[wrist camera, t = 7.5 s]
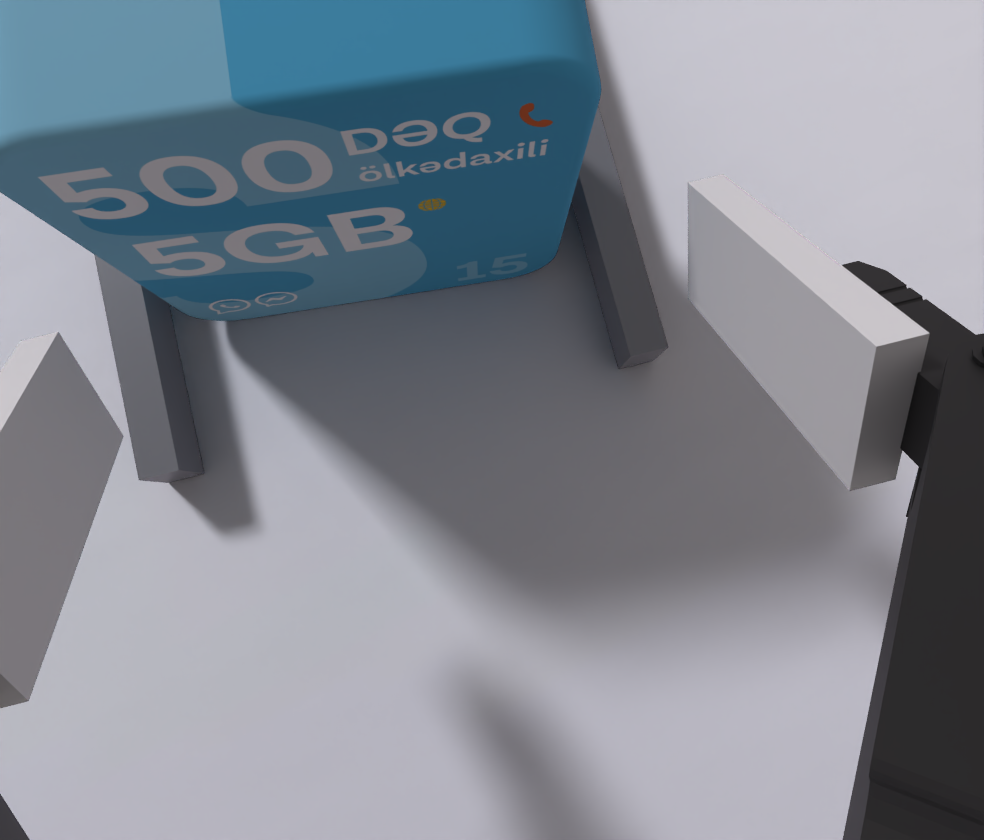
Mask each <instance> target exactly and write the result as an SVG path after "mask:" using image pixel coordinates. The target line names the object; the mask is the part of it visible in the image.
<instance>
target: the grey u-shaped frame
mask: <svg viewBox="0 0 984 840" xmlns="http://www.w3.org/2000/svg"><path fill="white" fill-rule="evenodd" d="M572 205H573V208H574V212H575V215H576V219H577V222H578V226H579V230H580V233H581V237H582V240H583V244H584V247H585V251H586V254H587V258H588V262H589V265H590V269H591V272H592V276H593V279H594V283H595V286H596V290H597V294H598V297H599V301H600V304H601V308H602V311H603V315H604V318H605V322H606V325H607V329H608V333H609V336H610V340H611V343H612V347H613V350H614V354H615V357H616V361H617V365H618V368H619V369H621V368H625V367H629V366H633V365H637V364H641V363H645V362H649V361H653V360H654V359H656V358H657V357H658V356H659V355H660V354H661V353H662V352H663V351H665V350H666V349H667V348H668V344H667V341H666V337H665V334H664V330H663V327H662V324H661V320H660V317H659V313H658V310H657V306H656V303H655V300H654V296H653V293H652V289H651V286H650V282H649V279H648V275H647V272H646V269H645V265H644V262H643V258H642V255H641V251H640V248H639V245H638V241H637V238H636V234H635V231H634V227H633V224H632V221H631V217H630V214H629V210H628V207H627V203H626V200H625V196H624V193H623V190H622V186H621V183H620V179H619V176H618V172H617V169H616V166H615V162H614V159H613V155H612V152H611V148H610V145H609V141H608V138H607V135H606V131H605V128H604V124H603V121H602V117H601V114H600V111H599V107H598V108H597V111H596V115H595V118H594V122H593V126H592V129H591V133H590V136H589V140H588V143H587V147H586V151H585V154H584V158H583V161H582V165H581V169H580V172H579V176H578V179H577V183H576V187H575V190H574V194H573V197H572ZM94 255H95V254H94ZM95 260H96V265H97V270H98V275H99V280H100V285H101V290H102V295H103V300H104V305H105V311H106V316H107V321H108V326H109V331H110V336H111V341H112V346H113V351H114V356H115V361H116V366H117V371H118V376H119V381H120V387H121V392H122V397H123V402H124V407H125V412H126V417H127V422H128V427H129V432H130V437H131V442H132V447H133V452H134V458H135V463H136V468H137V473H138V478H139V480H143V481H154V482H165V483H169V482H173V481H177V480H181V479H185V478H189V477H193V476H197V475H201V474H204V470H203V466H202V461H201V456H200V451H199V446H198V442H197V437H196V432H195V427H194V422H193V418H192V413H191V408H190V403H189V398H188V394H187V389H186V384H185V379H184V374H183V370H182V365H181V360H180V355H179V350H178V346H177V341H176V336H175V331H174V326H173V322H172V317H171V312H170V307H169V303H167V302H166V301H164V300H163V299H161V298H160V297H158V296H157V295H155V294H154V293H152V292H151V291H149V290H148V289H146V288H145V287H143V286H142V285H140V284H139V283H137V282H136V281H134V280H133V279H131V278H130V277H128V276H126V275H125V274H123V273H122V272H120V271H119V270H117V269H116V268H114V267H113V266H111V265H110V264H108V263H107V262H105V261H104V260H102V259H101V258H99V257H98V256H96V255H95Z"/></svg>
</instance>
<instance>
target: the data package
mask: <svg viewBox="0 0 984 840" xmlns="http://www.w3.org/2000/svg"><path fill="white" fill-rule="evenodd" d="M600 95H601V82H600V76H599V71H598V66H597V61H596V56H595V51H594V46H593V40H592V35H591V30H590V25H589V20H588V15H587V10H586V4H585V0H0V192H1V193H2V194H4V195H5V196H7V197H8V198H10V199H12V200H13V201H15V202H16V203H18V204H19V205H21V206H22V207H24V208H25V209H27V210H28V211H30V212H31V213H33V214H34V215H36V216H37V217H39V218H40V219H42V220H43V221H45V222H46V223H48V224H49V225H51V226H52V227H54V228H55V229H57V230H58V231H60V232H61V233H63V234H64V235H66V236H67V237H69V238H71V239H72V240H74V241H75V242H77V243H78V244H80V245H81V246H83V247H84V248H86V249H87V250H89V251H90V252H92V253H93V254H95V255H96V256H98V257H99V258H101V259H102V260H104V261H105V262H107V263H108V264H110V265H111V266H113V267H114V268H116V269H117V270H119V271H120V272H122V273H123V274H125V275H126V276H128V277H130V278H131V279H133V280H134V281H136V282H137V283H139V284H140V285H142V286H143V287H145V288H146V289H148V290H149V291H151V292H152V293H154V294H155V295H157V296H158V297H160V298H161V299H163V300H164V301H166V302H167V303H169V304H170V305H172V306H173V307H175V308H176V309H178V310H179V311H181V312H183V313H184V314H186V315H189V316H191V317H195V318H199V319H205V320H217V321H231V320H243V319H250V318H257V317H263V316H270V315H276V314H283V313H289V312H295V311H302V310H308V309H315V308H321V307H328V306H334V305H340V304H347V303H353V302H360V301H366V300H372V299H379V298H385V297H392V296H398V295H405V294H411V293H417V292H424V291H430V290H437V289H443V288H450V287H456V286H462V285H469V284H475V283H482V282H488V281H495V280H501V279H507V278H512V277H517V276H521V275H524V274H527V273H530V272H533V271H535V270H537V269H540V268H542V267H543V266H545V265H546V264H548V263H549V262H550V261H551V260H553V258H554V257H555V256H556V254H557V251H558V248H559V244H560V240H561V237H562V233H563V230H564V226H565V222H566V219H567V215H568V212H569V208H570V204H571V201H572V197H573V194H574V190H575V187H576V183H577V179H578V176H579V172H580V169H581V165H582V161H583V158H584V154H585V151H586V147H587V143H588V140H589V136H590V133H591V129H592V126H593V122H594V118H595V115H596V111H597V108H598V104H599V100H600Z"/></svg>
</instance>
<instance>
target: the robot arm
mask: <svg viewBox="0 0 984 840" xmlns="http://www.w3.org/2000/svg"><path fill="white" fill-rule="evenodd" d="M688 299H689V300H690V302H691V303H692V304H693V305H694V306H695V308H696V309H697V310H698V311H699V312H700V313H701V315H702V316H703V317H704V318H705V319H706V321H707V322H708V323H709V324H710V325H711V327H712V328H713V329H714V330H715V331H716V333H717V334H718V335H719V336H720V337H721V338H722V340H723V341H724V342H725V343H726V344H727V346H728V347H729V348H730V349H731V350H732V352H733V353H734V354H735V355H736V356H737V358H738V359H739V360H740V361H741V362H742V363H743V365H744V366H745V367H746V368H747V369H748V371H749V372H750V373H751V374H752V375H753V377H754V378H755V379H756V380H757V381H758V383H759V384H760V385H761V386H762V387H763V389H764V390H765V391H766V392H767V393H768V394H769V396H770V397H771V398H772V399H773V400H774V402H775V403H776V404H777V405H778V406H779V408H780V409H781V410H782V411H783V412H784V414H785V415H786V416H787V417H788V418H789V419H790V421H791V422H792V423H793V424H794V425H795V427H796V428H797V429H798V430H799V431H800V433H801V434H802V435H803V436H804V437H805V439H806V440H807V441H808V442H809V443H810V444H811V446H812V447H813V448H814V449H815V450H816V452H817V453H818V454H819V455H820V456H821V458H822V459H823V460H824V461H825V462H826V464H827V465H828V466H829V467H830V468H831V469H832V471H833V472H834V473H835V474H836V475H837V477H838V478H839V479H840V480H841V481H842V483H843V484H844V485H845V486H846V487H847V489H848V490H849V491H852V490H855V489H859V488H863V487H867V486H871V485H875V484H879V483H883V482H887V481H891V480H895V479H896V474H897V470H898V466H899V462H900V457H901V453H902V450H903V451H904V452H905V453H906V454H907V455H908V456H909V457H910V458H911V459H912V460H913V461H914V462H915V463H916V464H917V465H918V466H919V468H918V472H917V476H916V480H915V484H914V487H913V491H912V495H911V499H910V503H909V507H908V511H907V514H906V517H908V519H907V523H906V528H905V533H904V538H903V543H902V548H901V553H900V558H899V563H898V568H897V573H896V578H895V583H894V588H893V593H892V598H891V603H890V608H889V613H888V618H887V623H886V628H885V632H884V637H883V642H882V647H881V652H880V657H879V662H878V667H877V672H876V677H875V682H874V687H873V692H872V697H871V702H870V707H869V712H868V717H867V722H866V727H865V732H864V737H863V741H862V746H861V751H860V756H859V761H858V766H857V771H856V776H855V781H854V786H853V791H852V796H851V801H850V806H849V811H848V816H847V821H846V826H845V831H844V836H843V840H984V334H978V335H975V334H974V333H972V332H971V331H970V330H968V329H967V328H965V327H964V326H963V325H961V324H960V323H959V322H957V321H956V320H954V319H953V318H952V317H950V316H949V315H947V314H946V313H945V312H943V311H942V310H940V309H939V308H938V307H936V306H935V305H933V304H932V303H931V302H929V301H928V300H927V299H926V300H923V299H922V296H921V295H920V294H918V293H917V292H915V291H914V290H913V289H911V288H907V287H906V284H904V283H903V282H901V281H900V280H899V279H897V278H896V277H894V276H893V275H892V274H890V273H889V272H888V271H886V270H883V269H880V268H877V267H874V266H871V265H868V264H865V263H862V262H860V261H856V262H852V263H848V264H844V265H840V264H839V263H838V262H837V261H835V260H834V259H833V258H831V257H830V256H829V255H828V254H826V253H825V252H824V251H822V250H821V249H820V248H818V247H817V246H816V245H815V244H813V243H812V242H811V241H809V240H808V239H807V238H805V237H804V236H803V235H802V234H800V233H799V232H798V231H796V230H795V229H794V228H792V227H791V226H790V225H789V224H787V223H786V222H785V221H783V220H782V219H781V218H780V217H778V216H777V215H776V214H774V213H773V212H772V211H770V210H769V209H768V208H767V207H765V206H764V205H763V204H761V203H760V202H759V201H757V200H756V199H755V198H754V197H752V196H751V195H750V194H748V193H747V192H746V191H744V190H743V189H742V188H741V187H739V186H738V185H737V184H735V183H734V182H733V181H732V180H730V179H729V178H728V177H726V176H725V175H724V174H722V175H717V176H713V177H709V178H705V179H700V180H696V181H692V182H688ZM122 439H123V434H122V433H121V431H120V429H119V428H118V426H117V425H116V423H115V422H114V420H113V418H112V417H111V415H110V414H109V412H108V410H107V409H106V407H105V406H104V404H103V402H102V401H101V399H100V398H99V396H98V394H97V393H96V391H95V390H94V388H93V386H92V385H91V383H90V382H89V380H88V378H87V377H86V375H85V374H84V372H83V370H82V369H81V367H80V366H79V364H78V362H77V361H76V359H75V358H74V356H73V354H72V353H71V351H70V350H69V348H68V346H67V345H66V343H65V342H64V340H63V338H62V337H61V335H60V334H59V332H55V333H51V334H47V335H42V336H38V337H34V338H30V339H25V340H21V341H20V342H19V343H18V345H17V346H16V348H15V350H14V351H13V353H12V354H11V356H10V357H9V359H8V360H7V362H6V363H5V365H4V366H3V368H2V370H1V371H0V708H3V707H7V706H11V705H15V704H19V703H23V702H27V701H29V699H30V696H31V693H32V690H33V687H34V685H35V682H36V679H37V676H38V673H39V671H40V668H41V665H42V662H43V659H44V657H45V654H46V651H47V648H48V646H49V643H50V640H51V637H52V634H53V632H54V629H55V626H56V623H57V620H58V618H59V615H60V612H61V609H62V606H63V604H64V601H65V598H66V595H67V593H68V590H69V587H70V584H71V581H72V579H73V576H74V573H75V570H76V567H77V565H78V562H79V559H80V556H81V553H82V551H83V548H84V545H85V542H86V540H87V537H88V534H89V531H90V528H91V526H92V523H93V520H94V517H95V514H96V512H97V509H98V506H99V503H100V500H101V498H102V495H103V492H104V489H105V487H106V484H107V481H108V478H109V475H110V473H111V470H112V467H113V464H114V461H115V459H116V456H117V453H118V450H119V447H120V445H121V442H122ZM0 840H29V838H28V836H27V835H26V833H25V832H24V830H23V829H22V827H21V826H20V824H19V822H18V821H17V819H16V818H15V816H14V815H13V813H12V811H11V810H10V808H9V807H8V805H7V804H6V802H5V801H4V799H3V797H2V796H1V794H0Z"/></svg>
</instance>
